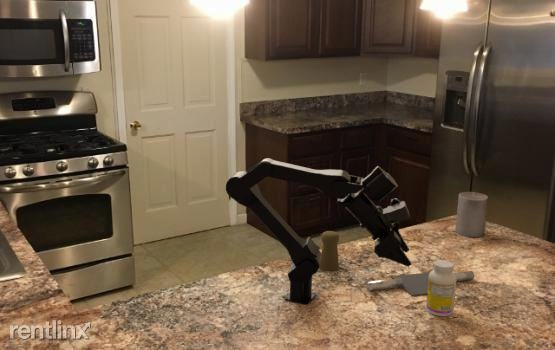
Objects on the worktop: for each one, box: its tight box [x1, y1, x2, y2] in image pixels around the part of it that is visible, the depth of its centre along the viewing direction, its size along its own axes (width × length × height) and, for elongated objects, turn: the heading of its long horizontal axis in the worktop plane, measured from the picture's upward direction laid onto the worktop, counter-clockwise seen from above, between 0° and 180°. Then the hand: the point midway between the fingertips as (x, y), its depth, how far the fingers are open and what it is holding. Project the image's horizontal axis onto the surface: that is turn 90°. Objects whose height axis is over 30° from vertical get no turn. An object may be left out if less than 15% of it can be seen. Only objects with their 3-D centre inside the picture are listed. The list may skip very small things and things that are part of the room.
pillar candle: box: [454, 191, 489, 238], centre depth 195 cm, size 10×10×15 cm
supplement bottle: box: [425, 259, 457, 317], centre depth 139 cm, size 7×7×13 cm
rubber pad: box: [391, 272, 430, 297], centre depth 155 cm, size 12×12×1 cm
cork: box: [318, 230, 340, 273], centre depth 164 cm, size 6×6×11 cm
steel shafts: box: [365, 270, 475, 291], centre depth 155 cm, size 32×2×2 cm, turn 105°
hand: (408, 258), depth 139 cm, fingers open, 9 cm apart
